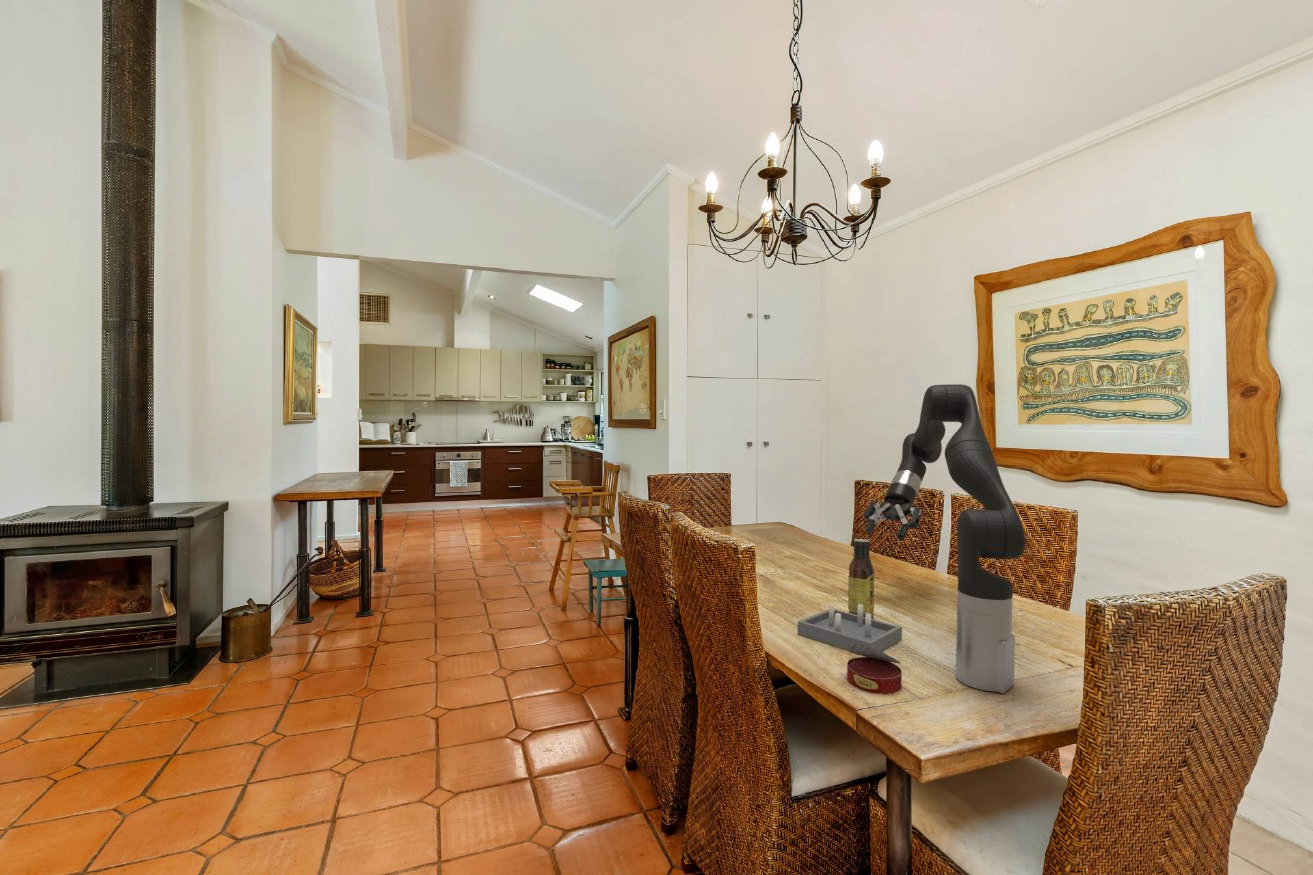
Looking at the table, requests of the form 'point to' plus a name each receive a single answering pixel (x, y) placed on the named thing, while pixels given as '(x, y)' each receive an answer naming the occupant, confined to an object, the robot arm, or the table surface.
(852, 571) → the sauce bottle
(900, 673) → the canned food
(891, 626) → the pin tray
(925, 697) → the table surface
